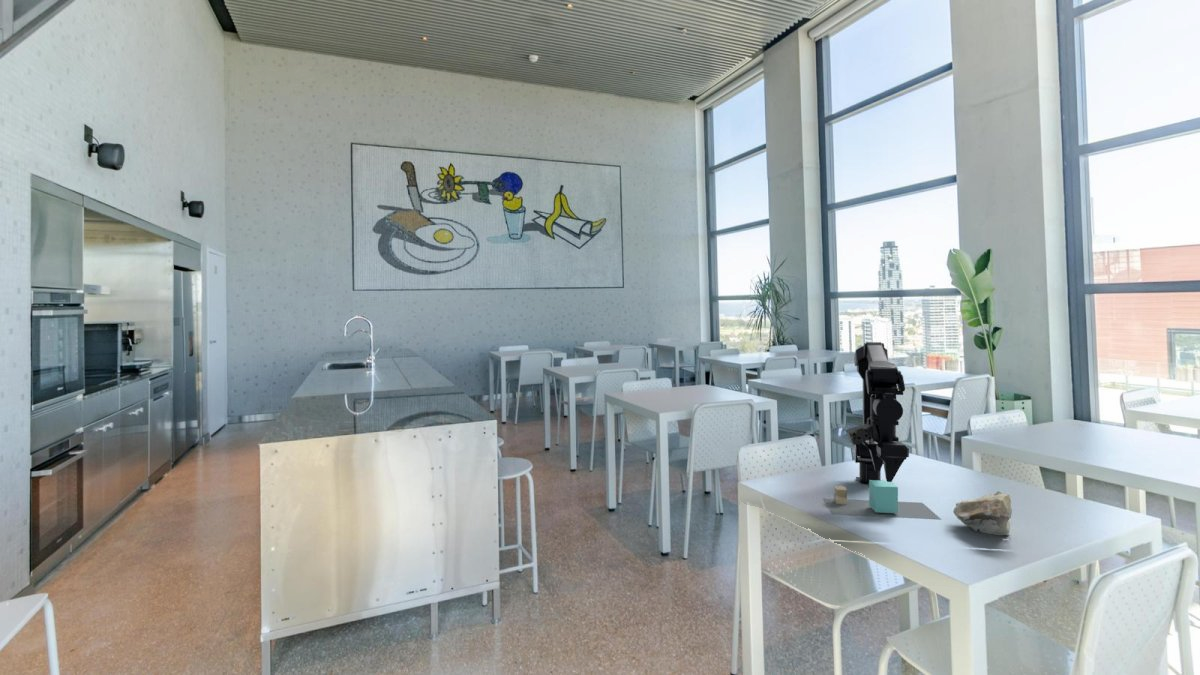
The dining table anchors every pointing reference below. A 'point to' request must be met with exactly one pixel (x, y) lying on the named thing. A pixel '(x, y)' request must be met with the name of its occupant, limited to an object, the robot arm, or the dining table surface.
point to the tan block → (840, 495)
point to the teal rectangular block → (883, 496)
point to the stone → (986, 513)
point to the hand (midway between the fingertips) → (883, 476)
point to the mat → (865, 510)
